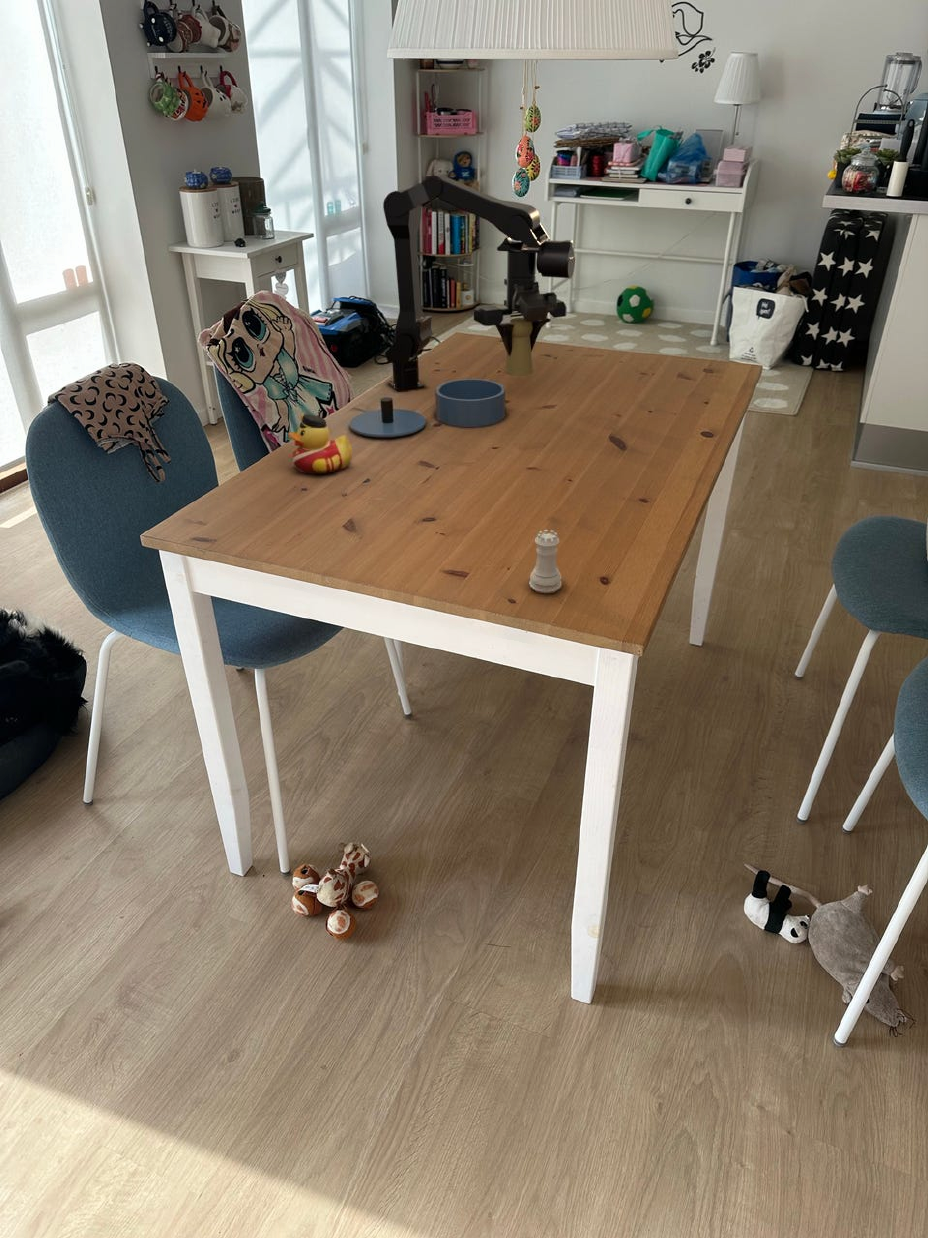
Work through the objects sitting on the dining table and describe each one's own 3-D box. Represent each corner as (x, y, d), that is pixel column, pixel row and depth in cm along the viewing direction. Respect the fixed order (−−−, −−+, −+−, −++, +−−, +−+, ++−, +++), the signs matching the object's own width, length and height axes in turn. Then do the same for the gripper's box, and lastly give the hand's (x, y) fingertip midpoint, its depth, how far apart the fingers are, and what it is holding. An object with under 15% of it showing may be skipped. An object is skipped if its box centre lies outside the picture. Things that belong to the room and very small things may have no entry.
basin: (426, 409, 183) (425, 384, 180) (487, 400, 187) (487, 375, 185) (452, 431, 172) (451, 404, 169) (516, 420, 176) (516, 394, 174)
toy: (289, 462, 159) (282, 408, 154) (347, 454, 162) (342, 401, 157) (297, 481, 152) (290, 425, 147) (358, 473, 155) (353, 418, 149)
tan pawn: (522, 378, 183) (524, 323, 177) (499, 372, 186) (499, 319, 180) (538, 370, 187) (540, 317, 181) (515, 366, 190) (516, 313, 184)
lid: (340, 420, 178) (338, 393, 175) (410, 409, 183) (409, 383, 180) (363, 445, 166) (361, 416, 163) (437, 432, 171) (436, 404, 168)
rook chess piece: (529, 577, 122) (531, 526, 118) (561, 578, 122) (564, 527, 118) (528, 594, 119) (530, 541, 114) (561, 595, 118) (564, 542, 114)
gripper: (496, 287, 166) (495, 369, 175) (582, 278, 172) (577, 358, 181) (472, 276, 175) (472, 355, 183) (555, 268, 181) (551, 344, 189)
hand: (519, 353), depth 184 cm, fingers closed on tan pawn, 4 cm apart
